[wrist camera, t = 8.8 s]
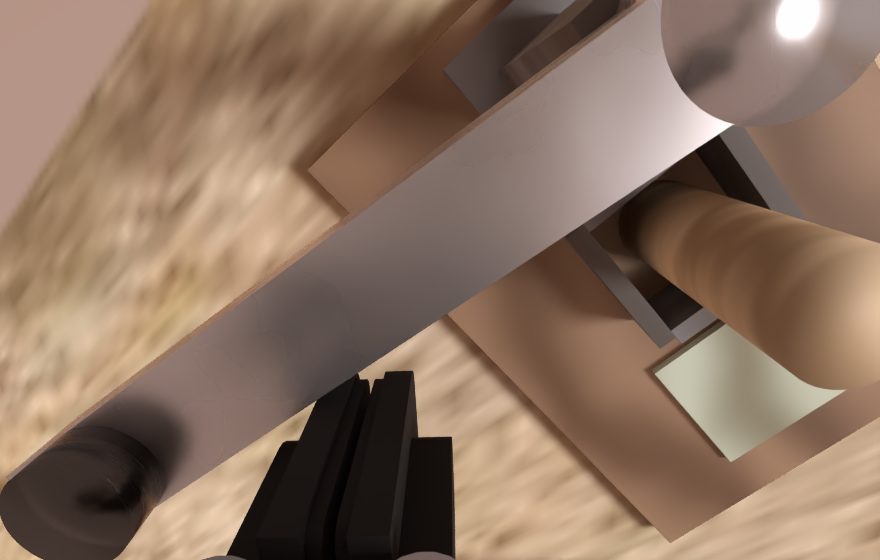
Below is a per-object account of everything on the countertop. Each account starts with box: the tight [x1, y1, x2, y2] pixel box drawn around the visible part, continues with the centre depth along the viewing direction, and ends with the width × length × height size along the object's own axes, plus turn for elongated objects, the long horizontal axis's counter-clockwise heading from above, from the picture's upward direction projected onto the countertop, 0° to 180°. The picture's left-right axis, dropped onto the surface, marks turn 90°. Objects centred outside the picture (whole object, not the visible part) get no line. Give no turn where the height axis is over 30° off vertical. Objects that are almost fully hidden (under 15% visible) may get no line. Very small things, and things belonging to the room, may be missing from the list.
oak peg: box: [619, 180, 880, 390], centre depth 17 cm, size 4×4×11 cm
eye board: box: [307, 0, 880, 543], centre depth 17 cm, size 20×28×14 cm
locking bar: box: [0, 0, 880, 560], centre depth 8 cm, size 16×3×3 cm, turn 126°
